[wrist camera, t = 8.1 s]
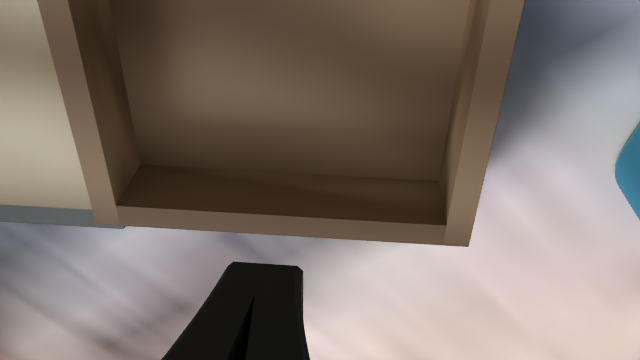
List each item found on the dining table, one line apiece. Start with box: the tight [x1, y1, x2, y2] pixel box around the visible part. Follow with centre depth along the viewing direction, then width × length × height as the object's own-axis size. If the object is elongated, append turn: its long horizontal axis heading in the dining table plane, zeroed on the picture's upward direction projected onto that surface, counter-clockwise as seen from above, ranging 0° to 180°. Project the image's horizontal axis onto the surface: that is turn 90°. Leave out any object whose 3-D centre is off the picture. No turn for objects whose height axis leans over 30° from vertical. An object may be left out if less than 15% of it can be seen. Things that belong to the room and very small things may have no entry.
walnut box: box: [37, 0, 525, 247], centre depth 16 cm, size 11×12×3 cm
